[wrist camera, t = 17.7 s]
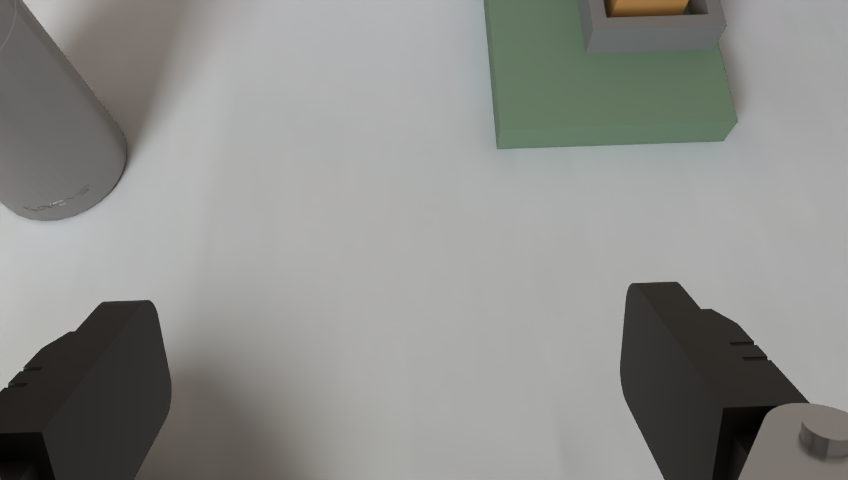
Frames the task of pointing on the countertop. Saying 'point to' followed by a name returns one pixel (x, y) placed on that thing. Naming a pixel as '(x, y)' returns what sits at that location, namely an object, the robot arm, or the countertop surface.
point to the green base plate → (606, 75)
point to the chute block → (644, 8)
